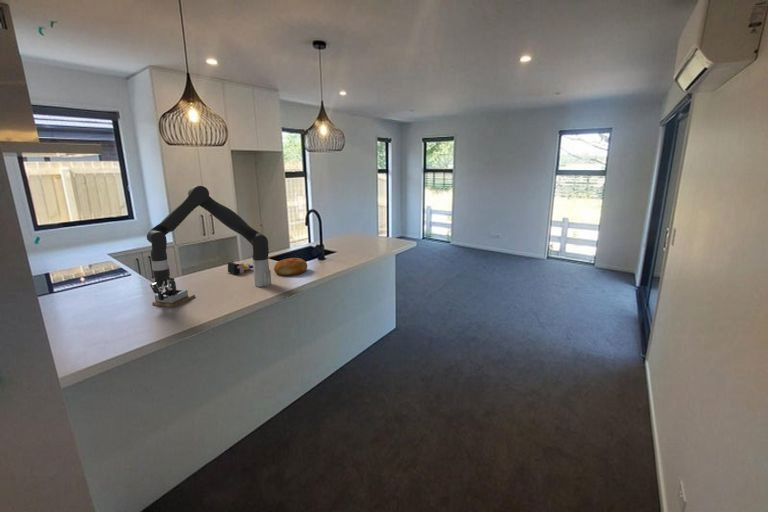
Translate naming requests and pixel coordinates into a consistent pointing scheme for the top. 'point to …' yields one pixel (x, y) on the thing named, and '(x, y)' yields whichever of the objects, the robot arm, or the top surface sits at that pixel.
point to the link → (172, 296)
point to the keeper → (176, 302)
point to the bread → (290, 266)
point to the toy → (238, 267)
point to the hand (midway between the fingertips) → (165, 298)
